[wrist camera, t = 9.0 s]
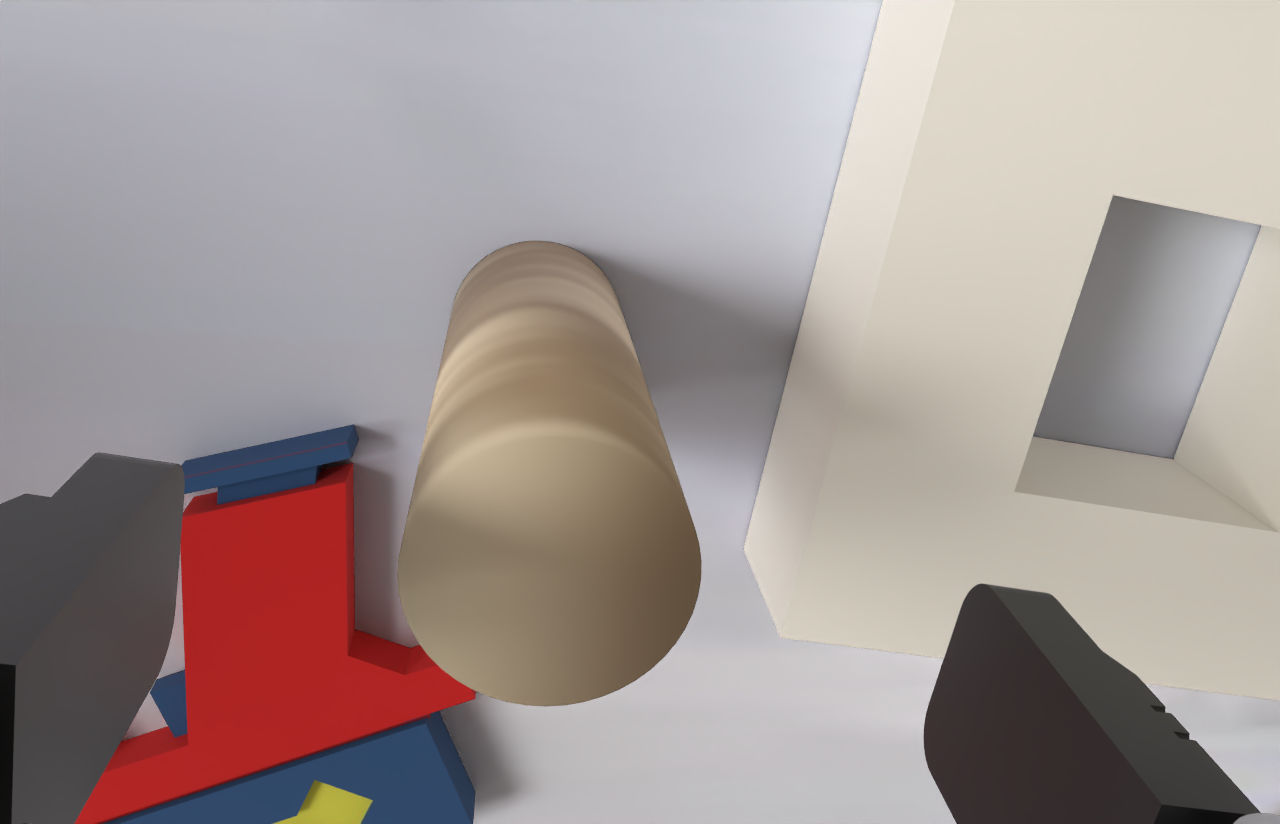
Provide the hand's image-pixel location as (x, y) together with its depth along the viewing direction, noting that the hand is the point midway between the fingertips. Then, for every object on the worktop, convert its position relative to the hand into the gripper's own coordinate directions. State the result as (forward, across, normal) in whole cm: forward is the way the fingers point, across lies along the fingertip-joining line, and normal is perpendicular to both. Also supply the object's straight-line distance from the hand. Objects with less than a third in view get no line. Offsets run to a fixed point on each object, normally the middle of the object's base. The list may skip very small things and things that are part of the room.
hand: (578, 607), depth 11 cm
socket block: (+11, -11, -2) cm, 15 cm away
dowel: (+11, 0, 0) cm, 11 cm away
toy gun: (+11, +7, +10) cm, 17 cm away
